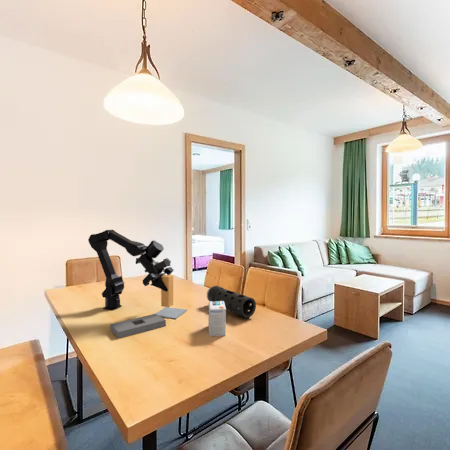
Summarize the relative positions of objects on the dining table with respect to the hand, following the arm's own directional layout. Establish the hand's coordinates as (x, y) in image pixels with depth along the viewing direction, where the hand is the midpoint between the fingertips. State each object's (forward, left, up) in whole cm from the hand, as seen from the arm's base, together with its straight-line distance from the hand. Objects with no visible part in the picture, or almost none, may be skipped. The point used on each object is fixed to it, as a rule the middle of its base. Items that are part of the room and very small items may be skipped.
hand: (169, 289), depth 134 cm
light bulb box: (+26, -9, -13) cm, 31 cm away
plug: (-1, 0, -8) cm, 8 cm away
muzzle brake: (+24, +15, -13) cm, 32 cm away
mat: (-2, +3, -12) cm, 13 cm away
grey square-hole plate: (-6, -17, -12) cm, 21 cm away
